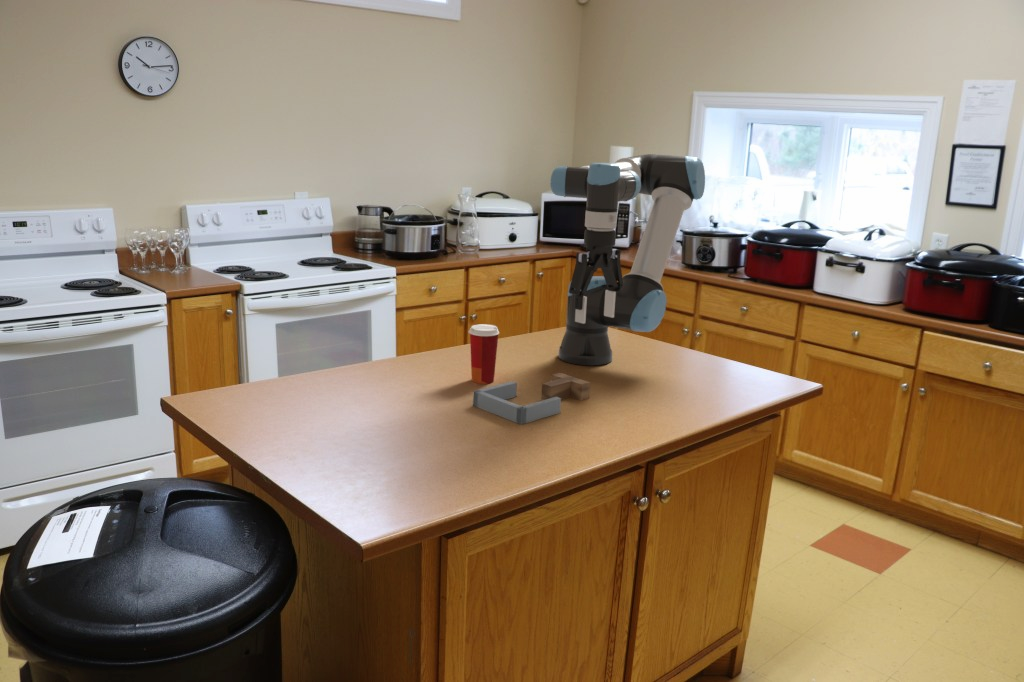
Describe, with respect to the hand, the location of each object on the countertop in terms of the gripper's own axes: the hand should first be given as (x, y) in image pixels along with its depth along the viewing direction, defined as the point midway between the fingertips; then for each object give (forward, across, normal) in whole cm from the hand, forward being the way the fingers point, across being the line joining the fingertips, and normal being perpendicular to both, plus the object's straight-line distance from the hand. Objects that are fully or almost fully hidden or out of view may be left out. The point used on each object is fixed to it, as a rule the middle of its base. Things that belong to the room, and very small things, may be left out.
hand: (594, 319), depth 207 cm
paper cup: (+18, -18, +21) cm, 33 cm away
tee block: (+18, -11, 0) cm, 21 cm away
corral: (+18, -26, 0) cm, 31 cm away
